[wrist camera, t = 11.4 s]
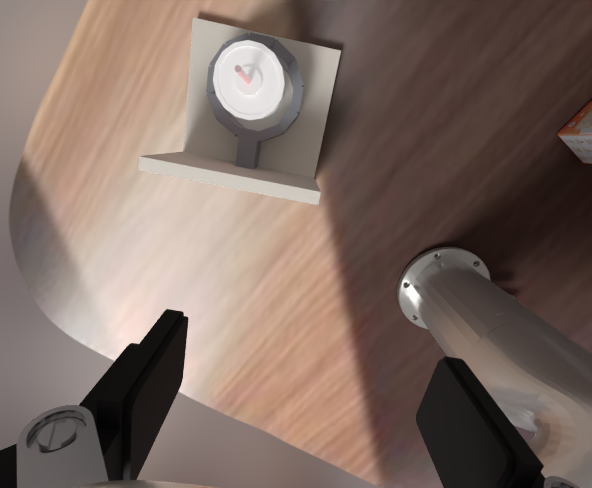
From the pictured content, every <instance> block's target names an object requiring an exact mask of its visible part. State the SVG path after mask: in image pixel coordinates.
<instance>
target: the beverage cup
mask: <svg viewBox="0 0 592 488" xmlns="http://www.w3.org/2000/svg"><path fill="white" fill-rule="evenodd" d="M213 83H214V88H215V92H216V96H217V97H218V99H219V101H220V102H221V104H222V105H223V107H224V108H225V109H226V110H227V111H229V112H230V113H231V114H233V115H234V116H236V117H238V118H242V119H246V120H255V119H261V118H264V117H267V116H269V115H271V114H272V113H274V112H275V111H276V109H277V108H278V106H279V104H280V101H281V99H282V95H283V90H284V85H285V82H284V75H283V69H282V66H281V64H280V62H279V61H278V59H277V57H276V55H275V54H274V53H273V52H272V51H271V50H270V49H268V48H267V47H266V46H265V45H263V44H262V43H258V42H254V41H250V40H245V41H240V42H235V43H233V44H232V45H230V46H229V47H228V48H226V49H225V50H224V51H222V53H221V55H220V56H219V58H218V60H217V62H216V64H215V67H214V75H213Z"/></svg>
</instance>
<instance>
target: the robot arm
mask: <svg viewBox="0 0 592 488" xmlns="http://www.w3.org/2000/svg"><path fill="white" fill-rule="evenodd" d="M435 254H436V255H435ZM405 282H406V283H405ZM397 298H398V302H399V305H400V307H401V309H402V311H403V313H404V314H405V315H406V317H407V318H408V319H409V320H410V321H411V322H413V323H414V324H416V325H418V326H420V327H422V328H425V329H429V331H430V332H431V334H432V335H433V336H434V338H435V339H436V341H437V342H438V344H439V345H440V346H441V348H442V349H443V351H444V352H445V354H446V355H447V356H446V357H444V358H443V360H439V362H438V364H437V366H436V368H435V371H434V373H433V375H432V378H431V380H430V383H429V385H428V387H427V390H426V392H425V395H424V397H423V399H422V402H421V404H420V407H419V409H418V411H417V414H416V422H417V425H418V428H419V430H420V432H421V435H422V437H423V440H424V442H425V444H426V447H427V449H428V451H429V454H430V456H431V458H432V461H433V463H434V466H435V468H436V470H437V473H438V475H439V477H440V480H441V482H442V484H443V487H444V488H592V354H591V353H590V352H589V351H587V350H586V349H584V348H583V347H581V346H580V345H578V344H577V343H575V342H574V341H572V340H571V339H570V338H568V337H567V336H566V335H564V334H563V333H561V332H560V331H559V330H557V329H556V328H554V327H553V326H552V325H550V324H549V323H548V322H546V321H545V320H543V319H542V318H541V317H539V316H538V315H537V314H535V313H534V312H532V311H531V310H530V309H528V308H527V307H526V306H524V305H523V304H522V303H520V302H519V301H517V300H516V299H515V297H514V295H510V294H508V293H506V292H505V291H504V290H502V289H501V288H500V287H498V286H497V285H495V284H494V283H493V282H491V279H490V274H489V271H488V269H487V267H486V265H485V264H484V263H483V261H482V260H481V259H480V258H478V257H477V256H476V255H474V254H473V253H471V252H470V251H467V250H465V249H462V248H457V247H440V248H435V249H432V250H430V251H427V252H425V253H423V254H421V255H420V256H418V257H417V258H416V259H414V260H413V261H412V262H411V263H410V264H409V265H408V266H407V267H406V269H405V270H404V272H403V273H402V275H401V278H400V280H399V283H398V288H397ZM187 328H188V317H185V316H184V314H183V312H181V311H175V310H169V309H166V310H165V311H164V313H163V314H162V315H161V317H160V318H159V319H158V320H157V322H156V323H155V324H154V326H153V327H152V328H151V330H150V331H149V332H148V333H147V335H146V336H145V337H144V339H143V340H142V341H141V342H140V344H135V343H131V344H129V345H128V346H127V347H126V349H125V350H124V351H123V352H122V353H121V355H120V356H119V357H118V358H117V359H116V361H115V362H114V363H113V364H112V366H111V367H110V368H109V369H108V371H107V372H106V373H105V374H104V375H103V377H102V378H101V379H100V380H99V381H98V383H97V384H96V385H95V386H94V388H93V389H92V390H91V391H90V392H89V394H88V395H87V396H86V397H85V398H84V400H83V401H82V402H81V403H80V405H79V406H78V405H66V406H61V407H58V408H54V409H51V410H49V411H47V412H44V413H43V414H41V415H39V416H38V417H36V418H35V419H33V420H32V421H31V422H30V423H29V424H28V425H27V426H26V427H25V428H24V429H23V431H22V432H21V434H20V435H19V437H18V442H17V444H15V445H12V446H10V447H8V448H5V449H3V450H0V488H217V487H208V486H200V485H190V484H182V483H173V482H161V481H145V480H136V479H137V477H138V475H139V473H140V471H141V469H142V467H143V464H144V462H145V460H146V458H147V456H148V454H149V452H150V450H151V447H152V445H153V443H154V441H155V439H156V437H157V435H158V433H159V431H160V428H161V426H162V424H163V422H164V420H165V418H166V416H167V414H168V411H169V409H170V407H171V405H172V403H173V401H174V399H175V397H176V395H177V393H178V390H179V388H180V386H181V383H182V379H183V370H184V359H185V349H186V338H187ZM513 425H514V426H517V427H520V428H522V429H525V430H528V431H532V432H535V433H536V434H535V436H534V437H533V439H532V440H530V441H529V442H528V443H526V442H525V440H524V439H523V438H522V436H521V435H520V434H519V432H518V431H517V430H516V428H515V427H514V426H513Z"/></svg>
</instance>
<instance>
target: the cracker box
mask: <svg viewBox="0 0 592 488" xmlns="http://www.w3.org/2000/svg"><path fill="white" fill-rule="evenodd" d="M557 135H558V136H559V137H560V138H561V140H562V141H563V142H564V143H565V144H566V145H567V146H568V147H569V148H570V150H571V151H572V152H573V153H574V154H575V155H576V156H577V157H578V158H579V159H580V160H581V162H582V163H583V164H592V100H591V101H590V102H589V103H588V104H587V105H586V106H585V107H584V108H583V109H582V110H581V111H580V112H579V113H578V114H577V115H576V116H575V117H574V118H573V119H572V120H571V121H569V122H568V123H567V124H566V125H565V126H564V127H563V128H562V129H561V130H560V131H559V132H558V133H557Z"/></svg>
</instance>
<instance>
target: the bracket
mask: <svg viewBox="0 0 592 488" xmlns="http://www.w3.org/2000/svg"><path fill="white" fill-rule="evenodd" d="M245 40H250V41H254V42H258V43H262V44H263V45H265V46H266V47H267V48H268V49H270V50H271V51H272V52H273V53H274V54H275V55H276V57H277V59H278V61H279V62H280V64H281V66H282V69H283V75H284V82H285V85H284V90H283V95H282V99H281V101H280V104H279V106H278V108H277V109H276V111H275V112H274V113H272V114H271V115H269V116H267V117H264V118H261V119H255V120H246V119H242V118H238V117H236V116H234V115H233V114H231V113H230V112H229V111H227V110H226V109H225V108H224V107H223V105H222V104H221V102H220V101H219V99H218V97H217V96H216V92H215V88H214V83H213V75H214V67H215V64H216V62H217V60H218V58H219V56H220V55H221V53H222V51H224V50H225V49H226V48H228V47H229V46H230V45H232V44H233V43H235V42H240V41H245ZM340 53H341V51H340V50H335V49H331V48H327V47H322V46H318V45H313V44H309V43H304V42H300V41H295V40H291V39H287V38H282V37H278V36H273V35H269V34H264V33H260V32H256V31H251V30H247V29H242V28H238V27H233V26H229V25H224V24H220V23H216V22H211V21H207V20H202V19H198V18H193V25H192V39H191V53H190V66H189V80H188V93H187V107H186V120H185V134H184V147H183V152H176V153H166V154H157V155H147V156H139V170H140V171H145V172H150V173H155V174H160V175H165V176H171V177H176V178H181V179H186V180H191V181H196V182H202V183H207V184H212V185H217V186H222V187H227V188H232V189H238V190H243V191H248V192H253V193H258V194H263V195H269V196H274V197H279V198H284V199H289V200H294V201H300V202H305V203H310V204H315V205H318V202H319V198H320V193H321V191H320V189H319V187H318V185H317V183H316V181H315V178H314V177H315V172H316V167H317V162H318V158H319V153H320V148H321V144H322V139H323V134H324V129H325V125H326V120H327V115H328V110H329V106H330V101H331V96H332V91H333V87H334V82H335V77H336V72H337V68H338V63H339V58H340Z"/></svg>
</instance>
